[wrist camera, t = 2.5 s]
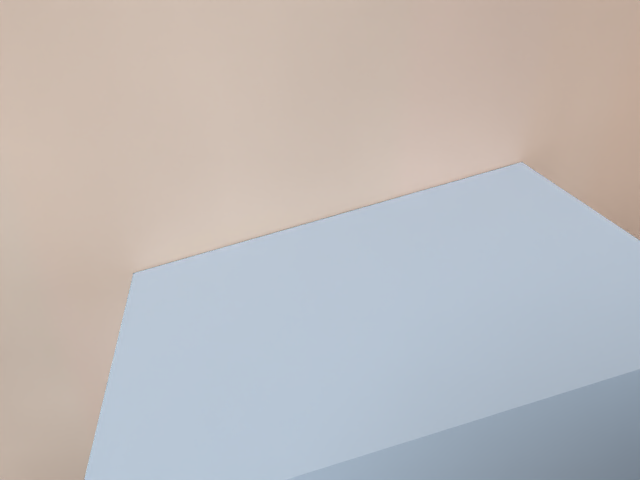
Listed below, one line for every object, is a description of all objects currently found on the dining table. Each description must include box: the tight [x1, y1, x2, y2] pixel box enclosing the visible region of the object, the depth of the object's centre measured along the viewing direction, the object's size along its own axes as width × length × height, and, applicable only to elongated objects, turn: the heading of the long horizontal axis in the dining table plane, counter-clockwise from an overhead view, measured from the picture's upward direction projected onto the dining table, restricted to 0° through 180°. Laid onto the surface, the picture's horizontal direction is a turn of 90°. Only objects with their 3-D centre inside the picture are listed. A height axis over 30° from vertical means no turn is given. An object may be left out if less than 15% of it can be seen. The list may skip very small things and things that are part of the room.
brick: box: [84, 162, 640, 480], centre depth 7 cm, size 6×6×4 cm
